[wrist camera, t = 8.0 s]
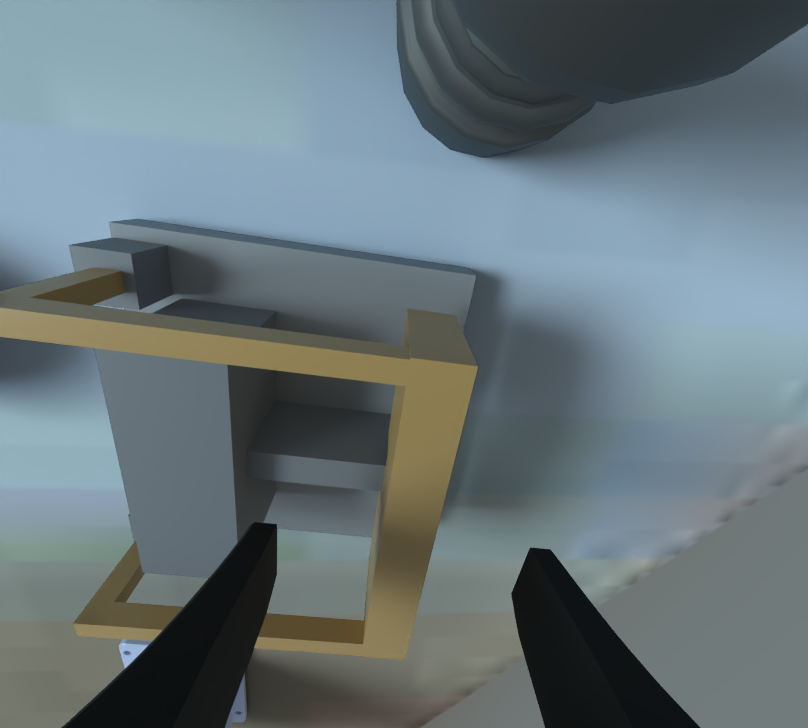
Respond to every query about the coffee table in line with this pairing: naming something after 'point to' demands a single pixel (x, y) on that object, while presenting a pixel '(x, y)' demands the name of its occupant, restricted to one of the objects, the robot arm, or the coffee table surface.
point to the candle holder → (567, 59)
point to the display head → (252, 387)
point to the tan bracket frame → (299, 353)
